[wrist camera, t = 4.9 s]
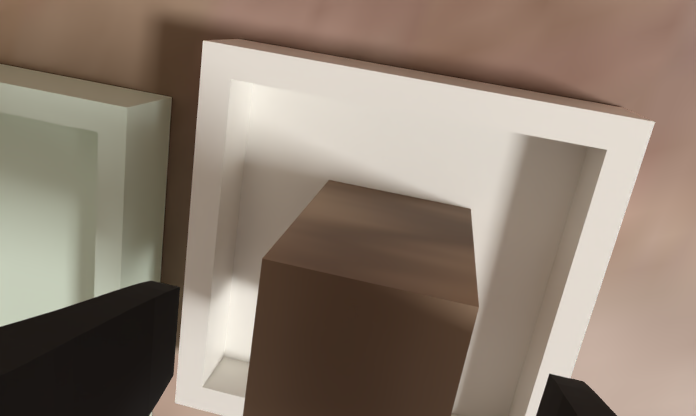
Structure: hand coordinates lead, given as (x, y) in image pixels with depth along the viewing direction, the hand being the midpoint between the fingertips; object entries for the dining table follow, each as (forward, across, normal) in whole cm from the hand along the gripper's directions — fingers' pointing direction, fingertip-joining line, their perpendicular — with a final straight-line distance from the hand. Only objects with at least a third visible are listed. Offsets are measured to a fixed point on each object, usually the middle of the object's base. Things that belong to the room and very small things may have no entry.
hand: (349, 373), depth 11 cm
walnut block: (+6, 0, 0) cm, 6 cm away
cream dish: (+7, 0, 0) cm, 7 cm away
